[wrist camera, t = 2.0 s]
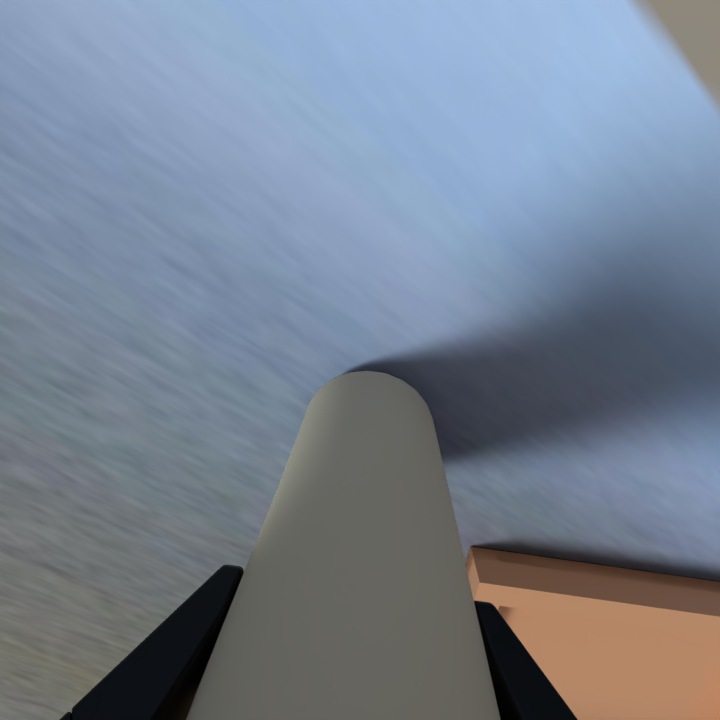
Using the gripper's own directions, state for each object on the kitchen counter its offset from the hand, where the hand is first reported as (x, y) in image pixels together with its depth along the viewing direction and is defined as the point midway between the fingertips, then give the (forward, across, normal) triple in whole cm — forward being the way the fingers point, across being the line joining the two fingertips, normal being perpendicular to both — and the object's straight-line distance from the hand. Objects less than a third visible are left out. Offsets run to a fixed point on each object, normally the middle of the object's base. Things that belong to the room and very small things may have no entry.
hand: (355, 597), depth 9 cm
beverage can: (+8, 0, 0) cm, 8 cm away
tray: (+8, -12, +12) cm, 19 cm away
